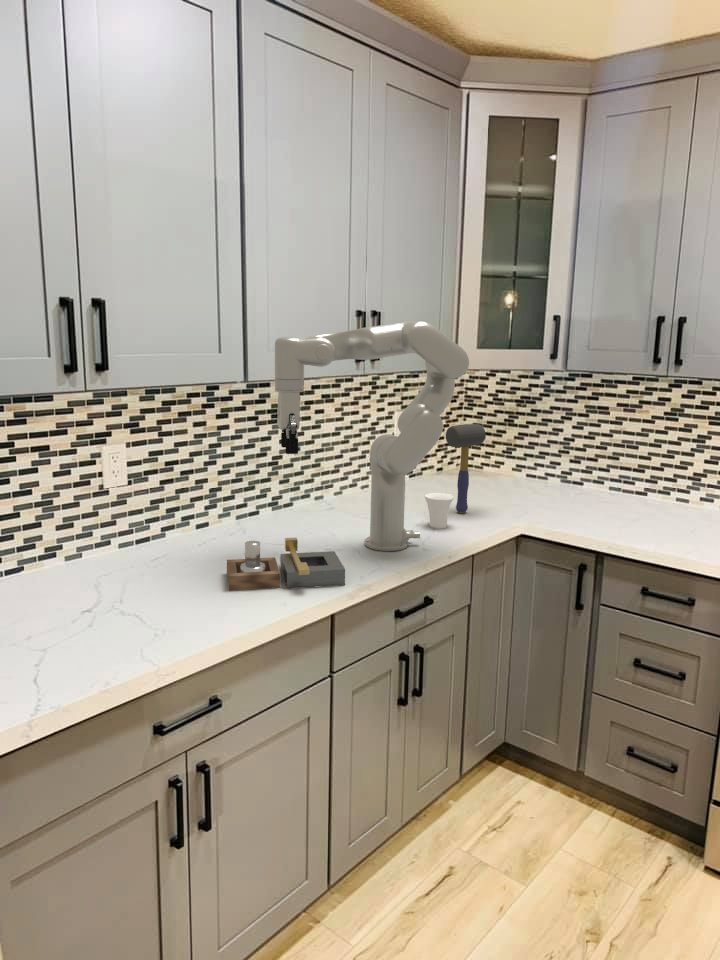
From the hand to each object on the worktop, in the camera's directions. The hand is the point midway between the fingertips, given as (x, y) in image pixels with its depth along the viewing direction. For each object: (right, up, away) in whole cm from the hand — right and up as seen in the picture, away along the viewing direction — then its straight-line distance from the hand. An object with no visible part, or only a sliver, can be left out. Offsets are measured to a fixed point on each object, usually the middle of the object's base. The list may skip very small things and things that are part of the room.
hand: (289, 450), depth 189 cm
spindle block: (+7, -32, -12) cm, 35 cm away
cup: (+43, -23, +34) cm, 59 cm away
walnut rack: (-7, -32, -15) cm, 37 cm away
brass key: (+3, -28, -14) cm, 31 cm away
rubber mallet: (+53, -19, +50) cm, 75 cm away
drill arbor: (-7, -32, -15) cm, 36 cm away
